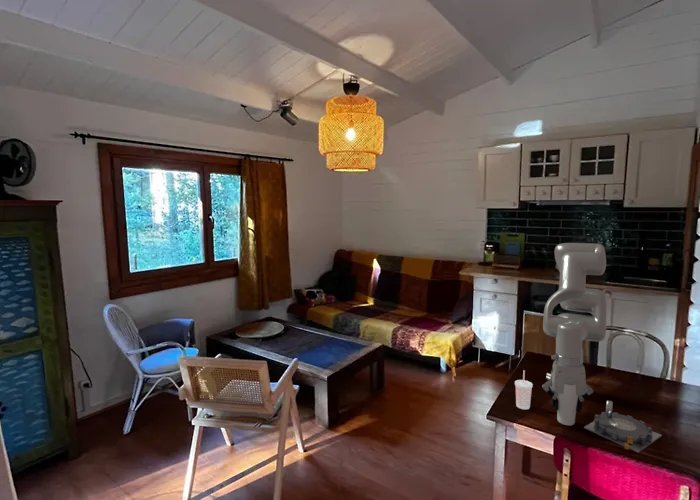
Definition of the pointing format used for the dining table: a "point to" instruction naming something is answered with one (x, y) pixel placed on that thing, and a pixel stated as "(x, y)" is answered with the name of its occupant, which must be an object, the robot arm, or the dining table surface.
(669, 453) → the dining table surface
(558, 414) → the drinking glass
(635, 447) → the base plate
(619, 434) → the sprocket
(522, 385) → the beverage cup
